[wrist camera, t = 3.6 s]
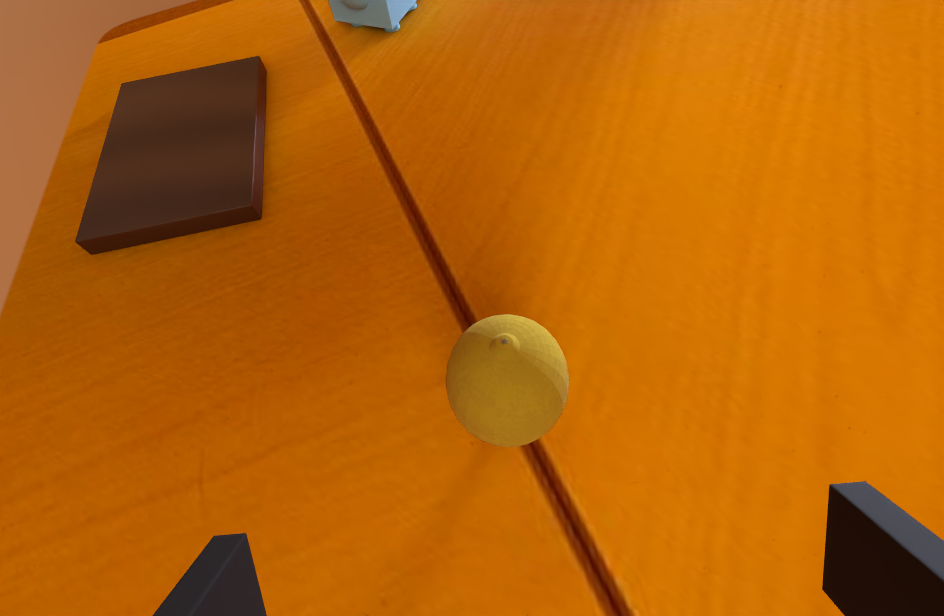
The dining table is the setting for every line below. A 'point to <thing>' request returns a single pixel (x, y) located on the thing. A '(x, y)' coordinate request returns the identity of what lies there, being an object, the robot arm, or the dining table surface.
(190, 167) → the cutting board
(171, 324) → the dining table surface
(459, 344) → the lemon
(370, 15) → the knobbed blue-grey cube
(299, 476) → the dining table surface
